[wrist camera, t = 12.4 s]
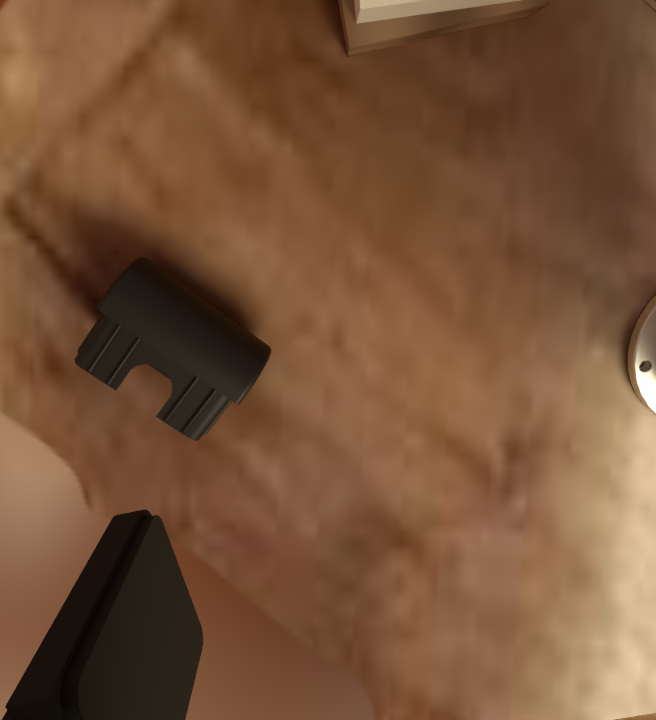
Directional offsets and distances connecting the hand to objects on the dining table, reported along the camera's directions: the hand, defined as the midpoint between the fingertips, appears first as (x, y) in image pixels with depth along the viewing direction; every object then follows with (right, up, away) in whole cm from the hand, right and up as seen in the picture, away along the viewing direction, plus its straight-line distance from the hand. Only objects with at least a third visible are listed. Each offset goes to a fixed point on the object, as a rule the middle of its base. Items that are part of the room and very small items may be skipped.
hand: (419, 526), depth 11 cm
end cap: (-11, +5, +31) cm, 33 cm away
